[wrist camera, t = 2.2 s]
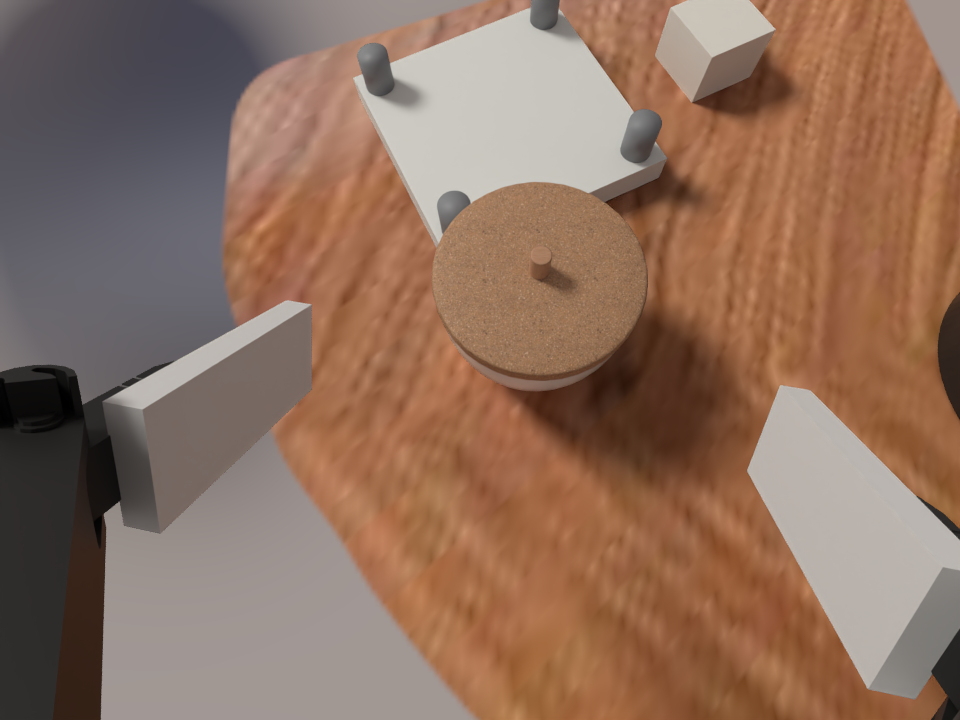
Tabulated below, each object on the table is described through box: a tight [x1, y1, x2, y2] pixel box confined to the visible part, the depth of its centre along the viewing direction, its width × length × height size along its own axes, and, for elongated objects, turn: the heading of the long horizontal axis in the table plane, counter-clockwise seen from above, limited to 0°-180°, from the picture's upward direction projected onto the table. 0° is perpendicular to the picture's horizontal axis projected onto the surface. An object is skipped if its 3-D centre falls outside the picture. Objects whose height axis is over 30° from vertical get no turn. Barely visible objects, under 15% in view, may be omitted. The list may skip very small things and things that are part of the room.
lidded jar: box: [431, 182, 648, 391], centre depth 29 cm, size 11×11×9 cm
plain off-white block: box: [655, 0, 776, 102], centre depth 38 cm, size 5×5×4 cm
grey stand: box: [353, 0, 667, 248], centre depth 36 cm, size 16×16×4 cm
